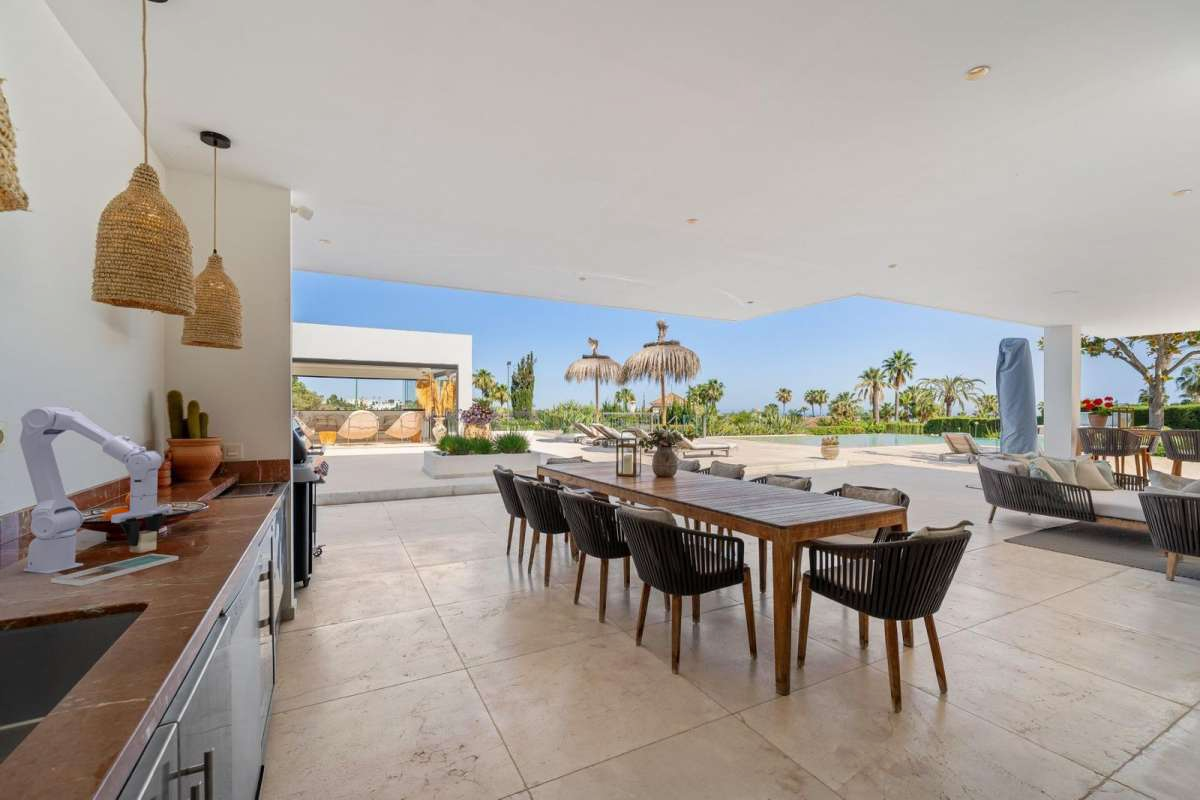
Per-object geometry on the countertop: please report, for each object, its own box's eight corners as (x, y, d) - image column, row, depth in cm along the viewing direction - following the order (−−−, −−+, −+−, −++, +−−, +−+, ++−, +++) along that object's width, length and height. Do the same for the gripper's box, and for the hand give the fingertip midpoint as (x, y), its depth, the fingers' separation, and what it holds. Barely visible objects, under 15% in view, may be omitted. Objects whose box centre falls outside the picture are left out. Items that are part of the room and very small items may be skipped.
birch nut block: (129, 551, 145) (130, 533, 145) (145, 548, 149) (145, 530, 149) (140, 552, 144) (141, 534, 144) (156, 549, 148) (156, 531, 148)
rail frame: (50, 582, 130) (50, 578, 130) (151, 557, 153) (151, 553, 153) (80, 586, 128) (80, 581, 128) (178, 559, 151) (178, 556, 151)
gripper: (125, 499, 139) (124, 551, 138) (181, 491, 153) (179, 538, 152) (105, 498, 140) (104, 549, 140) (162, 490, 154) (161, 536, 154)
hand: (142, 543), depth 146 cm, fingers closed on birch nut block, 4 cm apart
